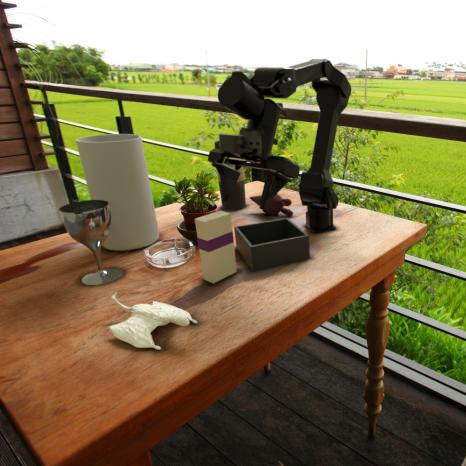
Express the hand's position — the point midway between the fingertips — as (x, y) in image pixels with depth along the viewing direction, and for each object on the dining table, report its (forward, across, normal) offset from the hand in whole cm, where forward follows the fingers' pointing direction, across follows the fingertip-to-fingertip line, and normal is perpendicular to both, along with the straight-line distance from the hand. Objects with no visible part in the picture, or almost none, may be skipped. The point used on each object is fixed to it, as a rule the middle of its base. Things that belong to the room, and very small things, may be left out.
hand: (243, 205), depth 76 cm
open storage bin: (+8, -2, +15) cm, 18 cm away
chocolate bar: (+15, -4, +3) cm, 16 cm away
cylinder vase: (+14, -36, +6) cm, 39 cm away
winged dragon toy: (+24, -2, -13) cm, 27 cm away
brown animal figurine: (-2, -19, +35) cm, 40 cm away
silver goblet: (+20, -25, -7) cm, 33 cm away
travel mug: (-2, -33, +35) cm, 48 cm away
